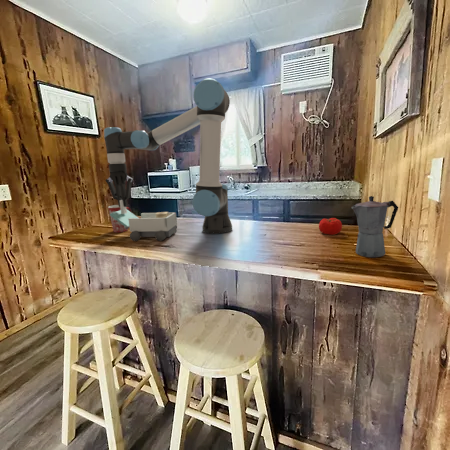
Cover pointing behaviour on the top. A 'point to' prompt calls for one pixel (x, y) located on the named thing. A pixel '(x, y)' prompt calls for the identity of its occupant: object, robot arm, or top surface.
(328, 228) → the tomato
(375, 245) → the moka pot
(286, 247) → the top surface
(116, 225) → the mug
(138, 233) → the trailer
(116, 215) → the tailgate
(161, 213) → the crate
